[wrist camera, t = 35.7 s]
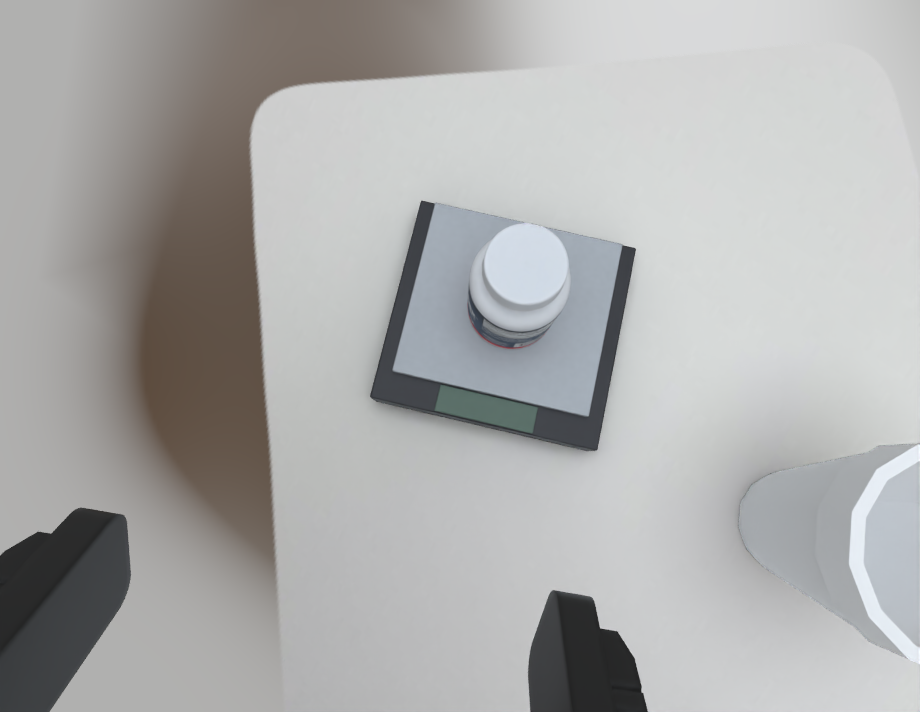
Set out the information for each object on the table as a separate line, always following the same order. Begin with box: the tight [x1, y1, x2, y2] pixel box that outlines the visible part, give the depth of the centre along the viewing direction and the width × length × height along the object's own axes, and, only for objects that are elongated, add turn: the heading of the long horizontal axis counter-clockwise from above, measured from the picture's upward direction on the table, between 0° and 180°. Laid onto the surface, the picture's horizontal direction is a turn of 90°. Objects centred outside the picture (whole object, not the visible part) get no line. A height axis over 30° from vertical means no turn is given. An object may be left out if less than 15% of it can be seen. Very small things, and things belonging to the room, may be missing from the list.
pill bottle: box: [467, 223, 571, 350], centre depth 32 cm, size 5×5×9 cm
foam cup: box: [738, 443, 920, 664], centre depth 31 cm, size 10×9×13 cm
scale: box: [370, 201, 636, 451], centre depth 38 cm, size 14×13×3 cm
